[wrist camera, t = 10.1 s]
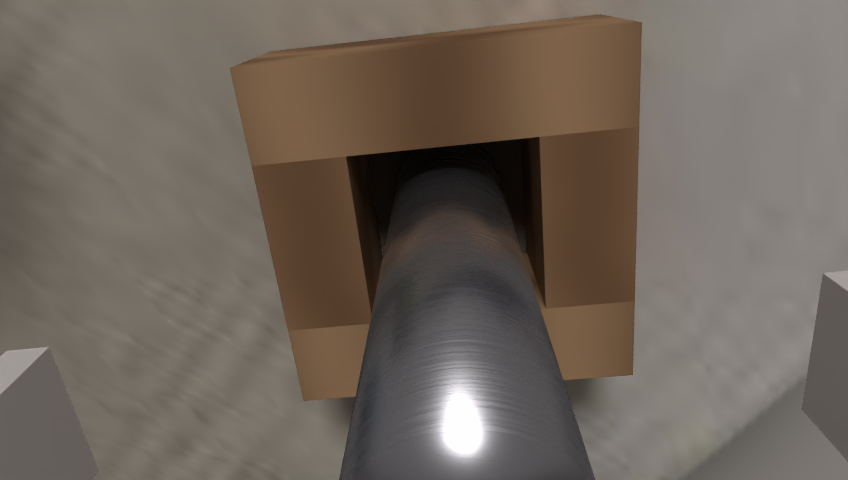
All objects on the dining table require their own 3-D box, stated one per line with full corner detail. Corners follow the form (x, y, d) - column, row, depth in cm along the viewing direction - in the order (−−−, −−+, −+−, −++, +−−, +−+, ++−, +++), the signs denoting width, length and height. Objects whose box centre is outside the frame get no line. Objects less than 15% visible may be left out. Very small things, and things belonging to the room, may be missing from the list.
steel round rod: (403, 241, 21) (352, 642, 8) (390, 145, 20) (307, 443, 7) (502, 232, 21) (607, 629, 8) (496, 134, 20) (609, 419, 7)
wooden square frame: (325, 332, 23) (303, 400, 19) (270, 51, 19) (229, 68, 15) (599, 309, 22) (632, 374, 18) (600, 14, 18) (641, 22, 15)
